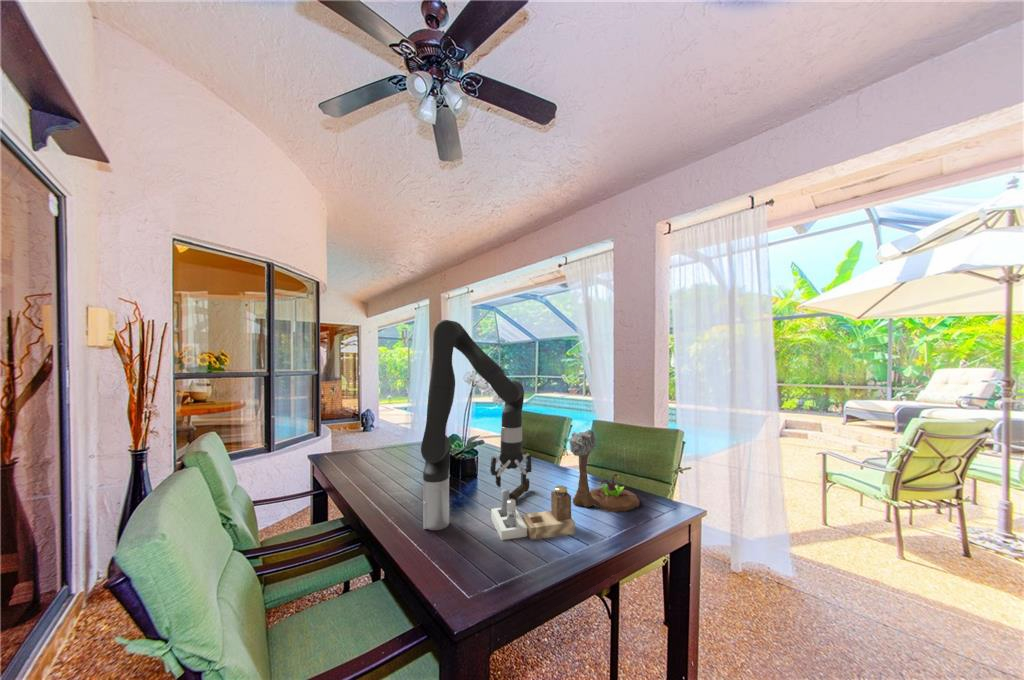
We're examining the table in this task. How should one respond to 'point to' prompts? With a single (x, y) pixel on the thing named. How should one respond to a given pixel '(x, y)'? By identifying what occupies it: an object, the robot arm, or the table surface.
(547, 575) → the table surface
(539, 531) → the socket block
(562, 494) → the gold topped knob
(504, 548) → the table surface
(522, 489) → the hand tool
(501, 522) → the rack
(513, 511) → the grey rectangular bar
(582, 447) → the tree sculpture
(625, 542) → the table surface
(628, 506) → the plant
